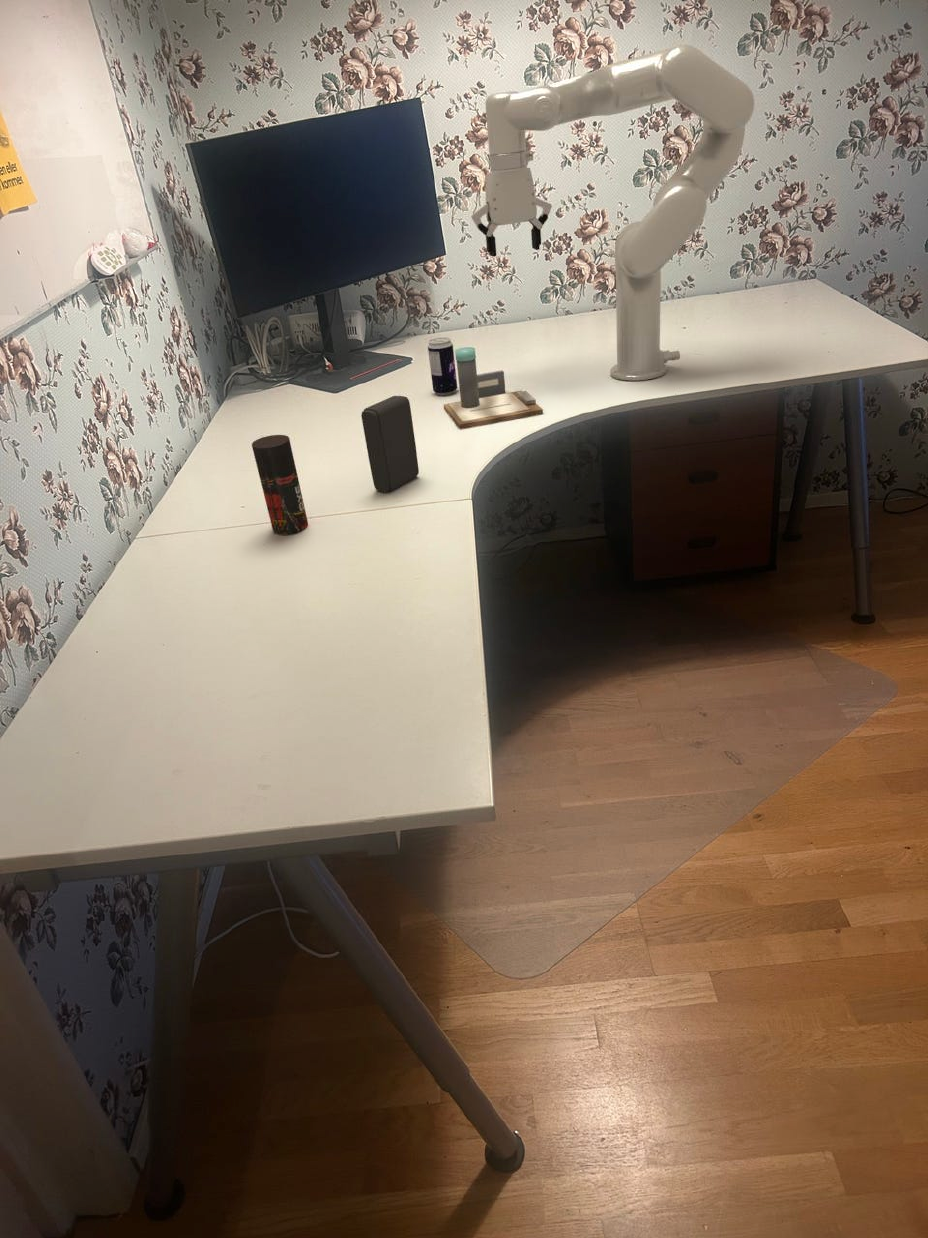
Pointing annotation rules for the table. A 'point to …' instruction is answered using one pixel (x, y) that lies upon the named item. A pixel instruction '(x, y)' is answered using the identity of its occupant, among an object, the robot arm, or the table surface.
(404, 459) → the dark grey rounded block
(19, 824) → the table surface
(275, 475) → the deodorant
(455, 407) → the clipboard
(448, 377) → the beverage can
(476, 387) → the marker
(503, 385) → the bar
